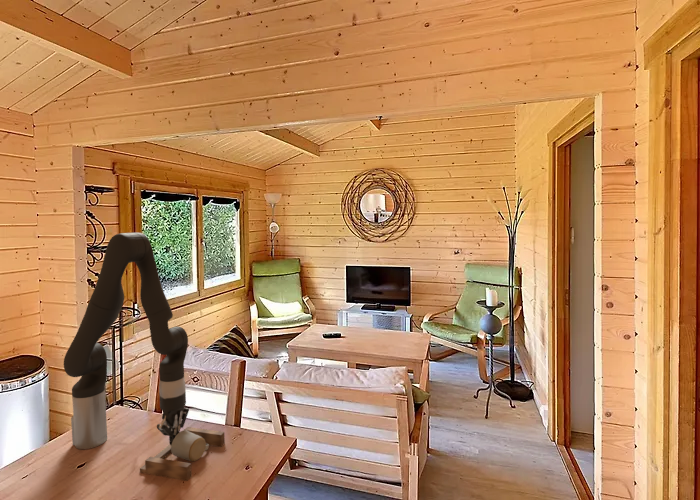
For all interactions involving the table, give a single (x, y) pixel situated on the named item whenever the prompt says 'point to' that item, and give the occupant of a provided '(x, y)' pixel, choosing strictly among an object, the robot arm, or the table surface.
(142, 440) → the table surface
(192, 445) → the ceramic mug
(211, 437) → the cradle
